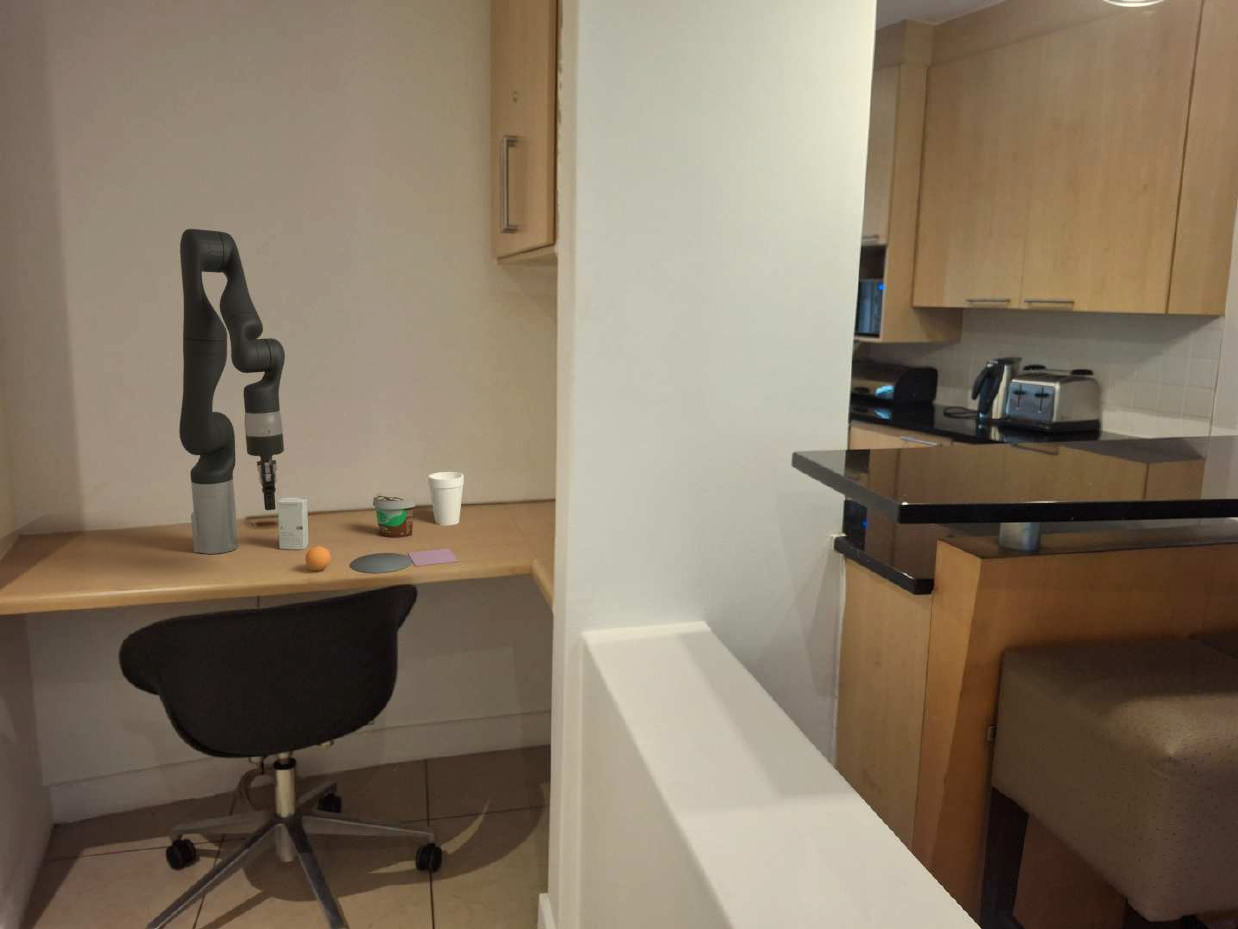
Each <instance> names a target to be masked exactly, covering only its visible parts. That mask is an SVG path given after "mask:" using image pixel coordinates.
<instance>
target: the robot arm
mask: <svg viewBox="0 0 1238 929" xmlns="http://www.w3.org/2000/svg"><path fill="white" fill-rule="evenodd" d="M179 246H180V247H179V255H180V269H181V270H180V271H181V281H182V282H181V283H182V292H183V293H182V294H183V295H182V296H183V297H182V298H183V320H182V322H183V324H182V328H183V329H182V355H183V356H182V357H183V371H182V372H183V375H182V382H183V383H182V402H181V410H180V417H179V418H180V419H179V427H178V428H179V430H178V431H179V440H180V442H181V445H182V447H183V448H184V450H185V451H186V452H187V453H189V454H190V455H192V456H199V457H198V461H197V462H196V463H195V465H194V466H193V467H192V468H191V469H190V476H189V477H190V483H191V495H192V496H191V497H192V506H193V512H192V513H191V514H190V518H191V519H190V521H191V531H192V540H193V541H192V542H193V552H194V553H200V554H205V555H214V554H223V553H228V552H232V551H235V550H237V549H238V548H239V535H238V524H237V522H238V521H237V513H236V512H237V509H236V498H235V496H236V495H235V486H234V485H235V484H234V469H235V466H236V436H235V429H234V426H233V423H232V421H231V419H230V418H229V417H228V416H227V415H225V413H222V412H219V411H213V407H214V406H213V405H214V404H213V403H214V396H215V393H216V388H217V387H218V384H219V382H220V380H221V377H222V374H223V373H224V370H225V367H226V363H227V359H228V336H229V339H230V341H229V342H230V357H231V358H230V360H231V363H232V365H233V367H234V368H235V369H236V370H237V371H239V372H240V373H242V374H249V373H250V374H253V373H254V374H255V373H263V376H262V377H261V379H260V380H258V381H256V382H255V381H254V382H253V383H248V384H247V385H245V386H244V388H243V394H242V395H243V402H244V431H245V432H244V433H245V441H246V442H245V444H246V453H247V455H249V456H253V457H260V460H259V461H258V460H257V461H256V468H257V472H258V477H259V478H258V479H259V483H260V485H261V487H262V488H261V493H262V494H263V504H264V510H265V511H274V510H276V496H275V494H276V483H277V480H278V479H277V470H278V466H277V461H276V460H277V459H273V456H274V455H276V456H277V455H281V454H283V452H284V451H285V446H284V445H285V444H284V443H285V442H284V433H283V432H284V430H283V419H282V416H281V410H280V409H281V408H280V396H279V394H280V386H281V379H282V374H283V369H284V366H285V358H286V354H285V348H284V347H283V345H282V343H281V342H280V341H279V340H277V339H276V338H272V337H271V338H270V337H269V338H260V337H261V336H262V335H263V333H264V332H263V331H264V326H263V323H262V320H261V317H260V315H259V313H258V311H257V309H256V307H255V304H254V303H253V300H252V298H251V294H250V292H249V291H250V290H249V289H248V288H249V287H248V284H247V280H246V279H247V278H246V275H245V271H244V268H243V264H242V259H241V256H240V251H239V248H238V245H237V243H236V241H235V239H234V238H233V236H232V235H231V234H230V233H228V232H224V231H218V230H209V229H198V228H187V229H184V231H183V232H182V235H181V237H180V243H179ZM203 273H217V274H218V273H219V274H221V273H223V275H224V276H225V278H226V283H225V284H226V285H225V287H224V289H223V291H222V293H221V297H220V300H219V312H220V315H221V317H220V315H219V314H218V312H217V311H216V310H215V308H214V307H213V305H212V303H211V302H210V300H209V297H208V296H207V294H206V291H205V287H204V282H203ZM221 318H222V319H221ZM224 324H225V325H224ZM228 334H229V335H228Z"/></svg>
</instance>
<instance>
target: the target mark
mask: <svg viewBox="0 0 1238 929" xmlns="http://www.w3.org/2000/svg"><path fill="white" fill-rule="evenodd" d="M412 563H413V561H412V559H411V558H410V556H409V555H406V554H403V553H397V552H396V553H394V552H379V553H371V554H365V555H363V556H359V557H357V558H355V559H353V560H352V561H351V562H350V564H349V566H350V568H351V569H352V570H354V571H356V572H360V573H365V574H366V573H367V574H385V573H391V572H397V571H400V570H403V569H406V568H408V567H409V566H412Z"/></svg>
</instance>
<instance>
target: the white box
mask: <svg viewBox="0 0 1238 929" xmlns="http://www.w3.org/2000/svg"><path fill="white" fill-rule="evenodd" d="M277 516H278V520H277V521H278V541H279V542H278V543H279V544H278V545H279V549H280V550H304V549H305V548H307V547H308V545H309V523H308V520H309V519H308V518H309V516H308V498H307V497H295V496H294V497H292V496H291V497H287V496H286V497H282V498H281V499H279V500H278V501H277Z"/></svg>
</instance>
